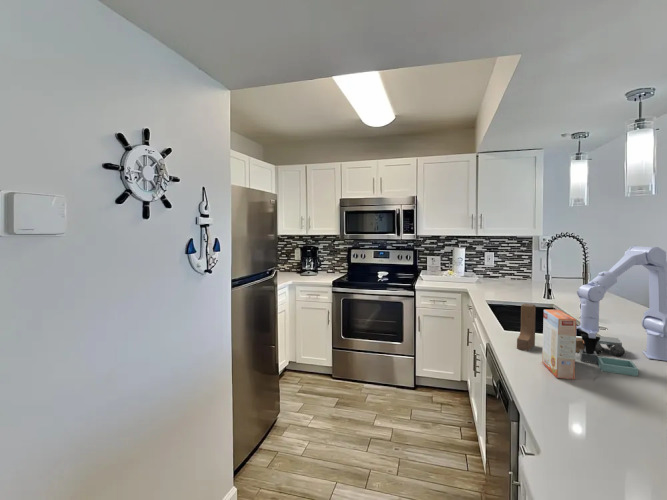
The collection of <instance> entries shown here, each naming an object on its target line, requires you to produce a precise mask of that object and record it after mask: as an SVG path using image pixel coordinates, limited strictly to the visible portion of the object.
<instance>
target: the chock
mask: <svg viewBox="0 0 667 500" xmlns="http://www.w3.org/2000/svg"><path fill="white" fill-rule="evenodd" d="M580 349H582V350H585V349H584V346H583V341H582V337H576V352H575V353H577V354H580Z"/></svg>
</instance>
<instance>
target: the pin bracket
mask: <svg viewBox="0 0 667 500" xmlns="http://www.w3.org/2000/svg"><path fill="white" fill-rule="evenodd" d="M578 356H579V359H580V361H581V362H584V363H585V362H586V363H592V364H593V363H594V364H598V357H599V355H598V354H597V353H596V351H594V353H593V354H587V353H585V350H582V349H580V353H579V355H578Z"/></svg>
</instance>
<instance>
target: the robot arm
mask: <svg viewBox="0 0 667 500" xmlns="http://www.w3.org/2000/svg"><path fill="white" fill-rule="evenodd" d="M640 265H641V266H643V268H645V269H647V270H648V302H649V303H648V306H649V307H648V310H646V311H645V310H644V312H643V317H642V319H641V326H642V328H643V329H644V332H645V333H646V347H645V349H646V350H642V354H644V356H645V357H646V358H647V359H649V360H659V361H665V362H667V251H666V250H664V249H663V248H661V247H659V246H640V245H633V246H630V247H628V249H627V250H625V251H624V255H623V256H622V257H621V258H620V259H619V260H618V261H617V262H616V263H615V264H614V265H613V266H612V267H611V268H610V269H609V270H608V271H605V270H604V271H602V272H601V271H600V272H598V274H597V276H596V277H594V278H593V279H592V280H590V281H588V283H587V284H582V285H581V286H579V288H578V290H577V291H576V294H577V296H578V298H579V302H580V317H579V322H580V325H577V330H578V331H579V334H580V336H581V338H582V341H583V340H584V343H583V346H584V349H585V350H586V353H587V354H593V353H594V351H595V347H596V344H597V343H598V341H599V340H600V337H596V336H597V334H598V333H599V332H600V327H599V326H600V325H599V324H600V301H602V300H603V299H604V298H605V295H606V292H607V291H608V290H609V289H610V288H612V287H613V286H614V285H615V284H616V283H618V278H619V277H620V276H621V275H622V274H624V273H625V272H627V271H629V270H630V269H631V268H632V267H634V266H640Z"/></svg>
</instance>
